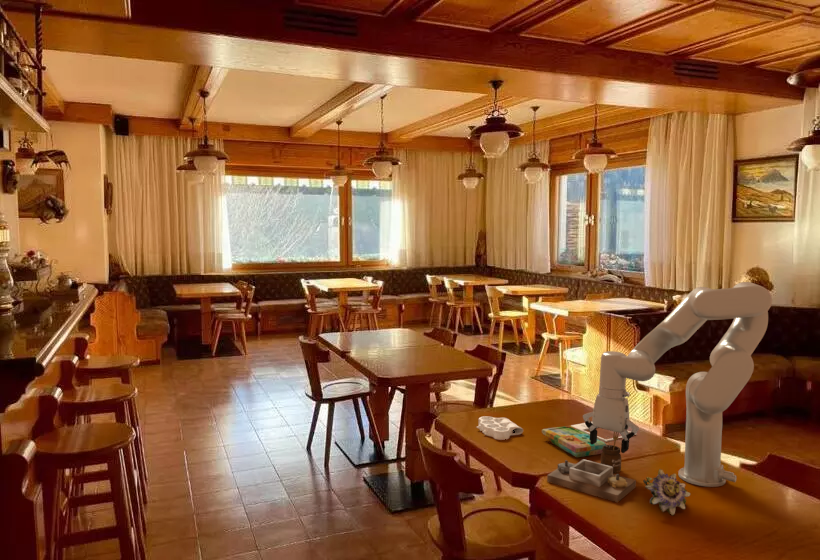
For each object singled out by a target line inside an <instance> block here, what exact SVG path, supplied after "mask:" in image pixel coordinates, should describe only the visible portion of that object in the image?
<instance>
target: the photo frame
mask: <svg viewBox="0 0 820 560" xmlns="http://www.w3.org/2000/svg"><path fill="white" fill-rule="evenodd" d="M591 423H592V421H591ZM592 424H593V423H592ZM570 426H572V427H574V428H576V429H578V430H580V431H582V432H584V433H586V434H588V435H590V431H589V428H588V427H587V426H586V424H585V422H582V423H577V424H571V425H570ZM596 429H598V427H597V428H596ZM587 430H588V431H587ZM627 431H628V432H630V433H631V431H629V430H628V429H627ZM635 435H636V436H637V433H636V434H635ZM618 438H622V439H623V437H622V436H621V435H620V436H618ZM597 439H598V440H600V441H603V442H604V443H608V442H612V441H614V439H613V437H612V439H610V438H603V437H601V436H598V435H597ZM604 439H605V440H604ZM606 439H607V440H606ZM611 440H612V441H611Z"/></svg>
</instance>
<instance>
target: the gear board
mask: <svg viewBox="0 0 820 560" xmlns="http://www.w3.org/2000/svg"><path fill="white" fill-rule="evenodd" d="M546 478H547V480H546V481H547V482H548V483H551V484H555V485H558V486H560V487H563V488H568V489H571V490H574V491H577V492H581V493H583V494H584V493H585V494H587V495H592V496H594V497H597V496H598V497H599V498H600V499H604V500H607V499H608V501H611V502H614V501H615V503H619V502H620V501H621V500H622V499H623V498H625V496H627V495H629V493H631V492H632V491H633V490H634V489H635V488H636V486H637V480H636V479H632V478H628V477H625V476H622V475H620V474H619V473H613V467H612V466H608V465H604V464H601V462H596V461H592V460H587V459H584V458H583V459H581V460H580V461H579V462H577V463H572V462H570V461H568V460H567V459H566V460H564V462H562V463H557V468H556V469H554V470H553V471H551V472H550V473H548V474H547V477H546ZM598 497H597V498H598ZM618 501H619V502H618Z"/></svg>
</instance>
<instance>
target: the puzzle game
mask: <svg viewBox="0 0 820 560" xmlns="http://www.w3.org/2000/svg"><path fill="white" fill-rule="evenodd" d="M541 433H542V435H544V436H545V437H547V439H548V441H549V442H550V443H551V444H553V445H555V446H557V447H558V448H560V449H561V450H563V451H564V452H567V453H568V454H571V456H574V457H575V458H581V457H583V458H584V457H588V456H590V457H591V456H594V455H595V456H596V455H601V453H602V452H603V451H602V448H603V446H605V445H607V443H605V441H603V440H600V439H598V438H597V442H596V443H595V444H593V445H592V444H590V442H591V440H590V435H589V434H586V433H584V432H582V431H580V430H578V429H576V428H574V427H572V426H571V425H565V426H557V427H548V428H543V429H541ZM604 443H605V444H604Z"/></svg>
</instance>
